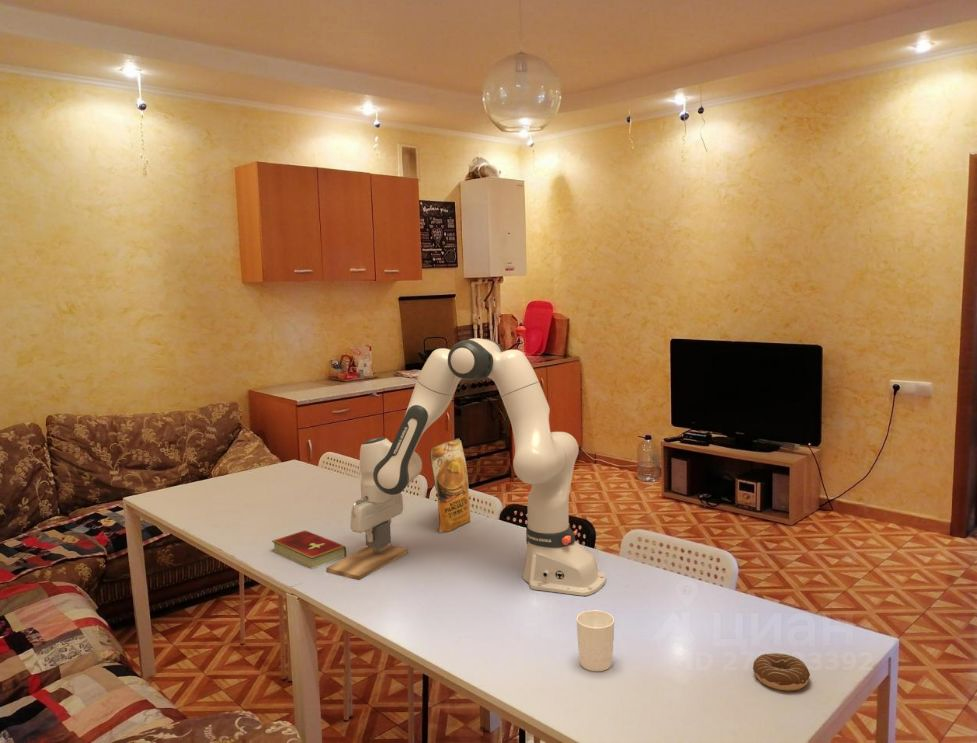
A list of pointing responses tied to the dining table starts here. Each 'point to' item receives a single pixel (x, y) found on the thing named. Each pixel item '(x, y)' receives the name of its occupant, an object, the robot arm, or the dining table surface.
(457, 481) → the pancake mix bag
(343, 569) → the board
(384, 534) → the gray rectangular block
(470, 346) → the robot arm
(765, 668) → the donut
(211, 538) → the dining table surface
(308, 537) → the hardcover book
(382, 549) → the post
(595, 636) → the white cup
